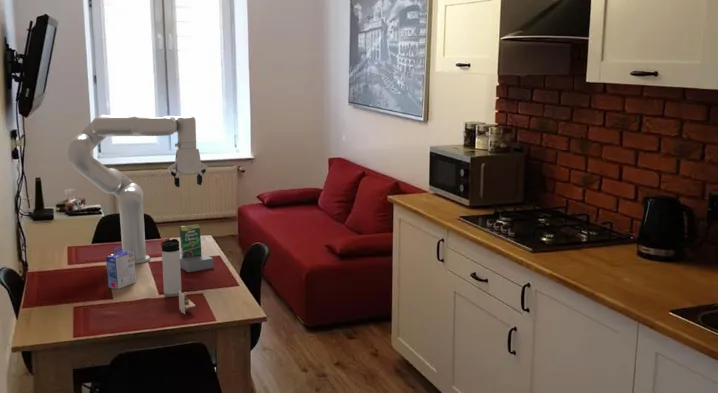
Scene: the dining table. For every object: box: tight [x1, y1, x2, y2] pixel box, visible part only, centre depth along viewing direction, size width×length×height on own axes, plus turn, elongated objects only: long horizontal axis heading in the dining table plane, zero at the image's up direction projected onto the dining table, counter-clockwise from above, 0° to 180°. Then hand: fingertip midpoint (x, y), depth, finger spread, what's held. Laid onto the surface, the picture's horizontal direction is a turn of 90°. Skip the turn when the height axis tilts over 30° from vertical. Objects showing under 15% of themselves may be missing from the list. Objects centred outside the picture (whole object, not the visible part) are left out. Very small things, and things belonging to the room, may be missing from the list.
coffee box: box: [179, 223, 202, 258], centre depth 300 cm, size 8×3×13 cm, turn 117°
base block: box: [180, 252, 214, 273], centre depth 302 cm, size 11×16×4 cm
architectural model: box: [178, 291, 196, 315], centre depth 247 cm, size 3×7×7 cm, turn 31°
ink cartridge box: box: [105, 246, 137, 290], centre depth 275 cm, size 10×6×14 cm, turn 155°
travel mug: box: [161, 238, 183, 298], centre depth 264 cm, size 6×7×20 cm
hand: (188, 185), depth 309 cm, fingers open, 9 cm apart
